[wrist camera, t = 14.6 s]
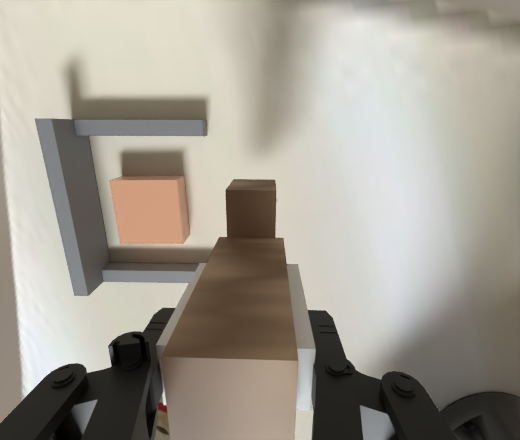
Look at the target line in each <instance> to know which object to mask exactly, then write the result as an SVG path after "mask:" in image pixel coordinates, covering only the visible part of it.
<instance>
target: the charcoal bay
mask: <svg viewBox="0 0 520 440" xmlns="http://www.w3.org/2000/svg"><path fill="white" fill-rule="evenodd" d="M35 122H36V126H37V131H38V135H39V140H40V144H41V149H42V153H43V158H44V162H45V167H46V171H47V175H48V180H49V184H50V189H51V193H52V198H53V202H54V207H55V211H56V216H57V220H58V224H59V229H60V233H61V238H62V242H63V247H64V251H65V256H66V260H67V265H68V269H69V273H70V278H71V282H72V287H73V291H74V296H89V295H90V294H91V293H92V292H93V291H94V290H95V289H96V288H97V287H98V286H99V285H100V284H101V283H103V282H157V283H189V282H190V280H191V279H192V277H193V275H194V273H195V271H196V269H197V267H198V266H199V264H180V263H110V258H109V252H108V246H107V240H106V235H105V229H104V223H103V217H102V211H101V206H100V200H99V194H98V188H97V183H96V177H95V171H94V165H93V160H92V154H91V148H90V142H89V136H207V124H206V120H70V119H35Z"/></svg>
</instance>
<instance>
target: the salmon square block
mask: <svg viewBox="0 0 520 440" xmlns="http://www.w3.org/2000/svg"><path fill="white" fill-rule="evenodd" d="M109 181H110V187H111V193H112V199H113V205H114V210H115V216H116V222H117V228H118V234H119V239H120V244H183V243H184V242H185V241H186V239H187V238H188V237H189V235H190V232H189V221H188V210H187V200H186V189H185V178H184V176H121V177H118V178H115V179H112V180H109Z"/></svg>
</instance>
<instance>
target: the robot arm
mask: <svg viewBox="0 0 520 440" xmlns="http://www.w3.org/2000/svg"><path fill="white" fill-rule="evenodd" d="M205 265H206V263H200V264H199V266H198V267H197V269H196V271H195V273H194V275H193V277H192V279H191V280H190V282H189V284H188V286H187V288H186V290H185V292H184V294H183V295H182V297H181V299H180V301H179V303H178V305H177V307H176V308H162V309H161V310H159V311H158V312H157V313H155V314H154V316H153V317H152V319H151V320H150V322H149V324H148V325H147V327H146V328H145V330H144V331H143V333H142V332H129V333H125V334H123V335H121V336H118V337H117V338H116V339H114V340H113V341H112V342H111V343H110V345H109V346H108V348H109V353H110V359H111V364H112V366H111V367H110V368H107V369H104V370H99V371H95V372H90V373H87V371H86V368H85V367H84V366H83V365H81V364H77V363H76V364H68V365H65V366H62V367H59V368H58V369H56V370H54V371H52V372H51V373H50V374H48V375H47V376H46V377H45V378H44V379H43V380H42V381H41V382H40V383H39V384H38V385H37V386H36V387H35V388H34V389H33V390H32V391H31V392H30V393H29V394H28V395H27V396H26V397H25V398H24V399H23V400H22V402H21V403H20V404H19V405H18V406H17V407H16V408H15V409H14V410H13V411H12V412H11V413H10V414H9V415H8V416H7V417H6V418H5V419H4V420H3V421H2V422H1V423H0V440H154V439H155V434H156V428H157V422H158V417H159V416H158V403H159V401H160V398H161V396H162V397H163V405H166V397H165V389H164V380H163V372H162V364H161V355H162V353H163V351H164V349H165V347H166V345H167V343H168V341H169V339H170V337H171V335H172V333H173V331H174V329H175V327H176V325H177V323H178V320H179V318H180V316H181V314H182V312H183V310H184V308H185V306H186V304H187V302H188V300H189V298H190V296H191V294H192V292H193V290H194V288H195V286H196V284H197V282H198V280H199V278H200V275H201V273H202V271H203V269H204V267H205ZM287 272H288V280H289V288H290V296H291V304H292V312H293V320H294V328H295V336H296V344H297V352H298V360H299V362H298V381H297V400H296V410H311V408H312V404H313V410H314V414H313V427H312V440H520V398H518V397H516V396H513V395H510V394H505V393H482V394H477V395H473V396H469V397H466V398H464V399H461V400H459V401H457V402H455V403H453V404H452V405H450V406H449V407H447V408H446V409H445V410H444V411H442V412H441V413H440V412H439V410H438V409H437V407H436V406H435V404H434V403H433V401H432V400H431V398H430V397H429V395H428V393H427V392H426V390H425V389H424V387H423V386H422V385H421V384H420V383H419V382H418V381H417V380H416V379H414V378H413V377H411V376H409V375H407V374H404V373H402V372H395V371H393V372H387V373H386V374H385V375H383V377H382V380H380V379H377V378H373V377H370V376H367V375H364V374H362V373H360V372H358V371H356V370H355V367H354V366H353V364H352V363H351V362H350V361H349V360H347V359H346V356H345V353H344V350H343V347H342V344H341V341H340V338H339V335H338V333H337V329H336V327H335V324H334V321H333V318H332V317H331V316H330V315H329V314H328V313H327V312H326V311H317V310H307V305H306V301H305V296H304V291H303V287H302V282H301V277H300V272H299V268H298V264H287Z"/></svg>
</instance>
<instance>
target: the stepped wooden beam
mask: <svg viewBox="0 0 520 440" xmlns="http://www.w3.org/2000/svg"><path fill="white" fill-rule="evenodd" d="M226 215H227V237H219V239H218V241H217V243H216V245H215V247H214V249H213V251H212V253H211V255H210V257H209V259H208V261H207V263H206V265H205V267H204V269H203V271H202V273H201V275H200V278H199V280H198V282H197V284H196V286H195V288H194V290H193V292H192V294H191V296H190V298H189V300H188V302H187V304H186V306H185V308H184V310H183V312H182V314H181V316H180V318H179V320H178V323H177V325H176V327H175V329H174V331H173V333H172V335H171V337H170V339H169V341H168V343H167V345H166V347H165V349H164V351H163V353H162V355H161V364H162V372H163V380H164V389H165V397H166V405H167V414H168V422H169V430H170V438H171V440H294V438H295V419H296V400H297V381H298V362H299V360H298V352H297V344H296V336H295V328H294V320H293V312H292V304H291V296H290V288H289V280H288V272H287V264H286V256H285V248H284V240H283V238H275V223H276V184H275V180H245V179H234V180H233V181H232V182H231V184H230V185H229V186H228V188H227V189H226Z"/></svg>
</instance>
